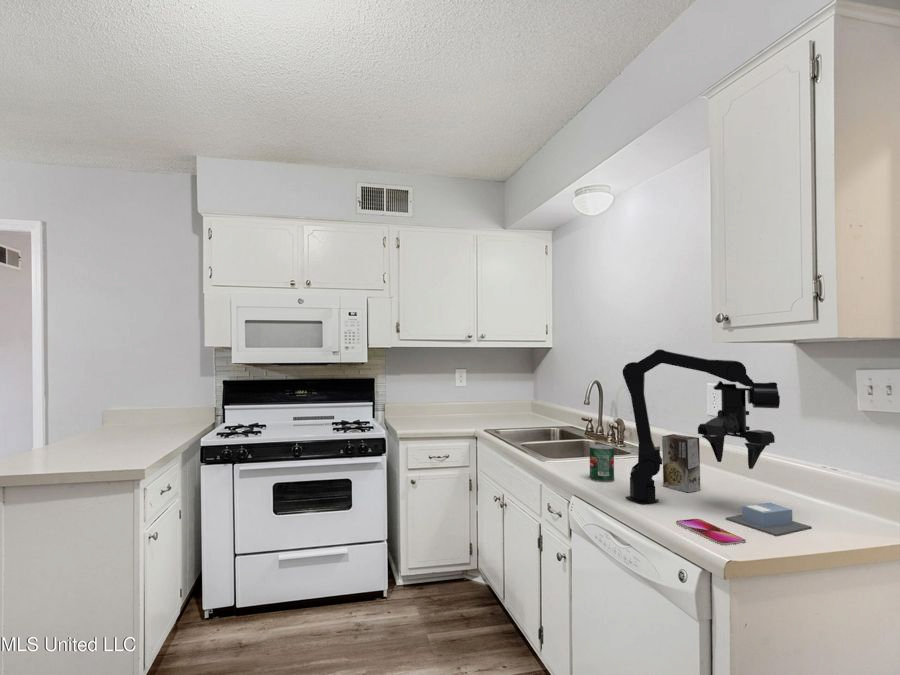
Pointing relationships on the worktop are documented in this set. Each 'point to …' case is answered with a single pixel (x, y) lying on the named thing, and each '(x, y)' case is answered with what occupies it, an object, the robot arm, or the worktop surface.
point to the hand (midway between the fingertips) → (734, 465)
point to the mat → (771, 530)
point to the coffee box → (681, 462)
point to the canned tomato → (602, 463)
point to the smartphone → (710, 532)
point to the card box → (767, 515)
